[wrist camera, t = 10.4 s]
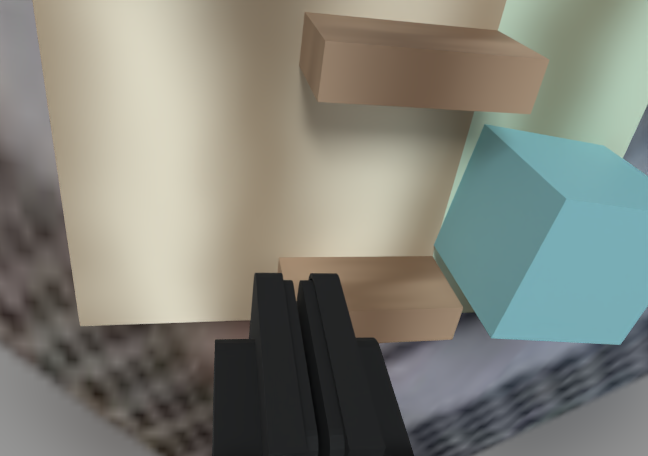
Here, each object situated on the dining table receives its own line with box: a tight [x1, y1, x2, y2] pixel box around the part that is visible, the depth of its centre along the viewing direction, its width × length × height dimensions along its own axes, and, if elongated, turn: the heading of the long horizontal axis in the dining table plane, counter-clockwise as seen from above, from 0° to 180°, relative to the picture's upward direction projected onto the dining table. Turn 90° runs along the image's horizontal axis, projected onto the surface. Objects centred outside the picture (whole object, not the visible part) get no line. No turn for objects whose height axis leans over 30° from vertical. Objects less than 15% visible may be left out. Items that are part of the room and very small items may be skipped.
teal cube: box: [434, 124, 648, 345], centre depth 18 cm, size 5×5×5 cm
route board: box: [32, 0, 648, 343], centre depth 19 cm, size 27×13×6 cm, turn 83°
